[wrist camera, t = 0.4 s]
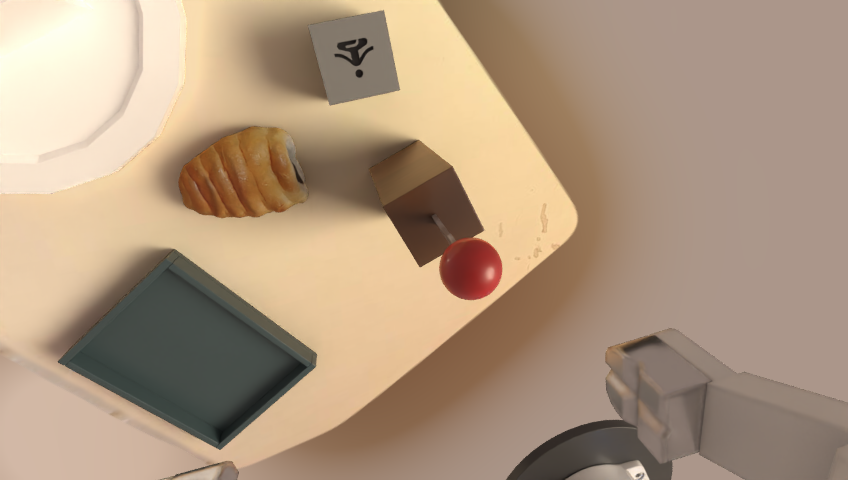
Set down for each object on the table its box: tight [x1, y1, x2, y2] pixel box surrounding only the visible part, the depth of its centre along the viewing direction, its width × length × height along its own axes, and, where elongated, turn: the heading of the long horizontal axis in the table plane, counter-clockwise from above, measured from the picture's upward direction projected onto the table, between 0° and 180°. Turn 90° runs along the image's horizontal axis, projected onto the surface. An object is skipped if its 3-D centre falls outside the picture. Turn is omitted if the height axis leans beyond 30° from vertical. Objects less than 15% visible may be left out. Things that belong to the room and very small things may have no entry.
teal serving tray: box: [58, 249, 317, 450], centre depth 38 cm, size 16×13×2 cm
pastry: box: [178, 126, 309, 218], centre depth 32 cm, size 9×7×4 cm
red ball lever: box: [369, 140, 502, 300], centre depth 28 cm, size 5×5×20 cm
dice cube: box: [308, 10, 400, 105], centre depth 30 cm, size 5×5×5 cm
